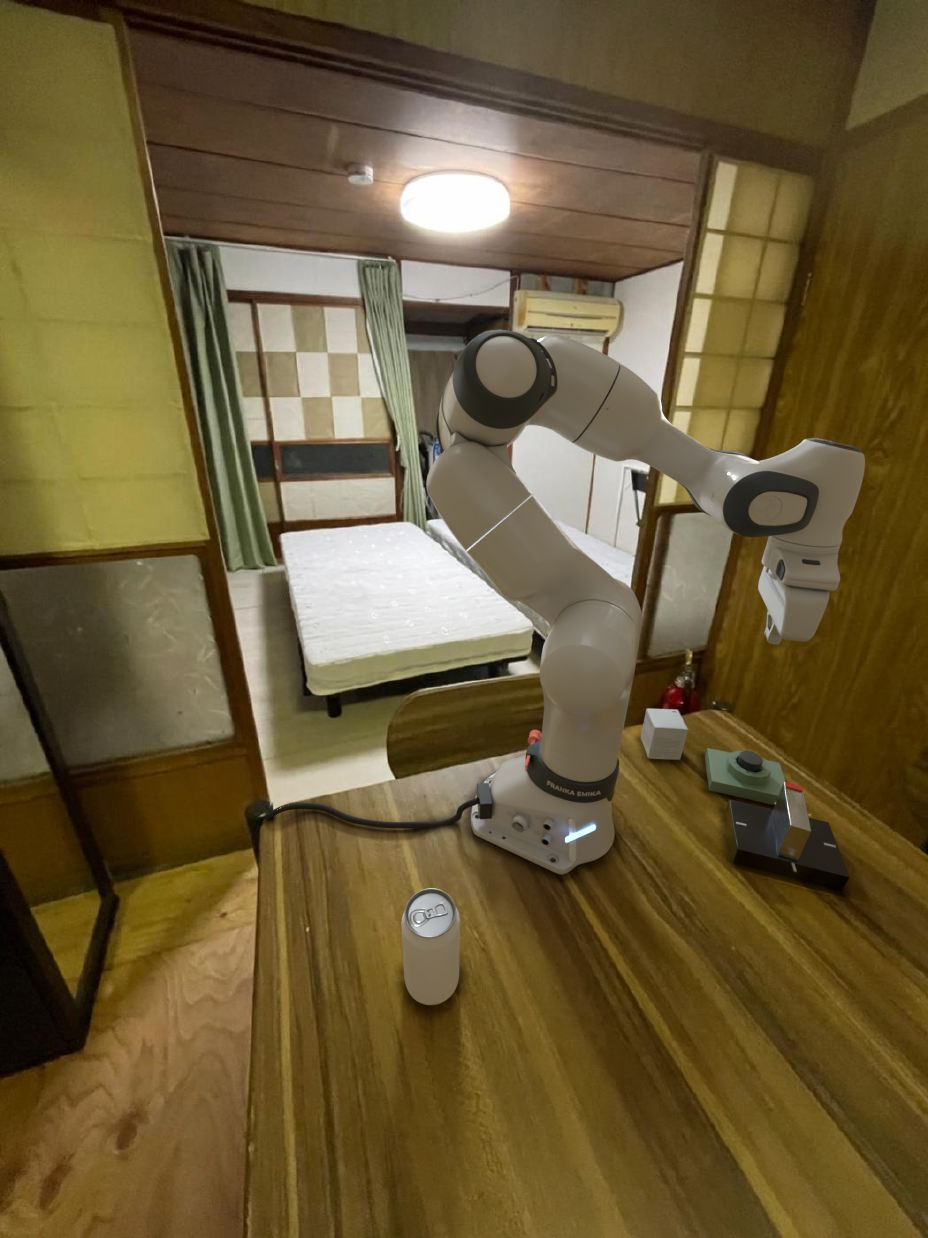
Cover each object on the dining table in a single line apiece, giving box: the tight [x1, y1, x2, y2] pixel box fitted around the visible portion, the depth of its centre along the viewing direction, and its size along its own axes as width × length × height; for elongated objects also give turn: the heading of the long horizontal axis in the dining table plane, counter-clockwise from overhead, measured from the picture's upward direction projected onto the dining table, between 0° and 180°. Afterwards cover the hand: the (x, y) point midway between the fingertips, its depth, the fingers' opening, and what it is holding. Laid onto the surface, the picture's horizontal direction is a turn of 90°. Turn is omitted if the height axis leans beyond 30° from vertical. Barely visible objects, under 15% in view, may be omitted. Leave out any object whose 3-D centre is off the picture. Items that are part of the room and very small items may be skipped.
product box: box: [640, 707, 689, 761], centre depth 96 cm, size 6×6×7 cm
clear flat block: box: [772, 781, 811, 861], centre depth 75 cm, size 9×2×6 cm, turn 156°
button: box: [737, 750, 764, 772], centre depth 88 cm, size 4×4×2 cm
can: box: [400, 887, 461, 1006], centre depth 58 cm, size 6×6×12 cm
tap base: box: [724, 799, 850, 892], centre depth 77 cm, size 14×13×3 cm
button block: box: [704, 747, 787, 806], centre depth 89 cm, size 12×9×4 cm
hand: (771, 640), depth 81 cm, fingers closed
